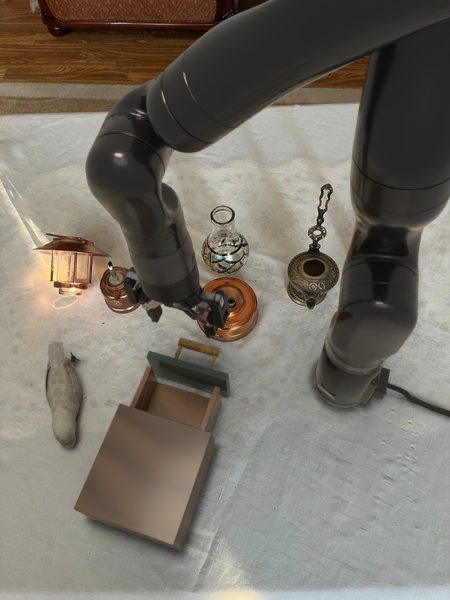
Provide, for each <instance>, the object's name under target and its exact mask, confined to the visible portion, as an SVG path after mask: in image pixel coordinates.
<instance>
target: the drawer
mask: <svg viewBox="0 0 450 600" xmlns="http://www.w3.org/2000/svg"><path fill="white" fill-rule="evenodd" d="M183 349H186V350H190V351H193V352H197V353H200V354H204V355H207V356H210V357H211V360H210V361H209V365H208V366H204V365H200V364H197V363H194V362H190V361H186V360H184V359H181V358H180V354H181V352H182V350H183ZM220 353H221V348H218V347H215V346H212V345H208V344H205V343H201V342H198V341H194V340H191V339H187V338H184V337H179V339H178V341H177V349H176V351H175V353H174V356H170V355H166V354H163V353H159V352H156V351H152V350H148V352H147V354H146V360H147V362H148V364H149V365H147V366H146V368H145V370H144V372H143V375H142V378H141V380H140V382H139V385H138V387H137V388H136V391H135V393H134V396H133V397H132V401H131V403H130V405H129V406H130V407H133V408H136V409H139V410H142V411H145V412H149V413H152V414H155V415H158V416H161V417H164V418H168V419H171V420H174V421H177V422H180V423H183V424H186V425H190V426H193V427H196V428H199V429H202V430H205V431H208V432H212V433H213V429H214V427H215V423H216V421H217V418H218V415H219V413H220V408H221V407H222V397H225V398H229V396H230V394H231V384H230V374H229V373H227V372H224V371H221V370H218V369H214V366H215V362H216V361H217V358H219V357H220ZM157 377H159V378H162V379H166V380H169V381H172V382H176V383H178V384H181V385H185V386H188V387H192V388H196V389H199V390H202V391H206V392H208V393H211V395H210V397H208V396H204V395H202V394H197V393H194V392H191V391H188V390H185V389H182V388H178V387H176V386H175V387H174V386H172V385H168V384H166V383H162V382H158V379H157Z"/></svg>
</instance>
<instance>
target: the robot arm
mask: <svg viewBox="0 0 450 600" xmlns="http://www.w3.org/2000/svg"><path fill="white" fill-rule="evenodd" d="M367 56H369V57H368V62H367V66H366V70H365V73H364V74H365V76H364V79H363V84H362V90H361V94H360V99H359V104H358V105H359V106H358V110H357V117H356V123H355V129H354V135H353V140H352V149H351V161H350V171H349V172H350V173H349V194H350V196H349V197H350V203H351V207H352V211H353V213H354V219H355V221H354V222H355V223H354V228H353V232H352V236H351V240H350V244H349V247H348V250H347V252H346V256H345V260H344V263H343V267H342V270H341V277H340V284H339V285H340V287H339V295H338V304H337V310H336V311H335V312H334V314H333V315H332V317H331V319H330V321H329V325H328V328H327V332H326V335H325V338H324V341H323V345H322V349H321V352H320V355H319V358H318V362H317V365H316V367H315V370H314V373H313V386H314V388H315V392H316V393H317V395H318V396H319V397H320V398H321V399H322V400H323V401H324V402H325V403H327V404H328V405H331V406H333V407H334V408H335V407H336V408H339V409H350V408H354V407H356V406H358V405H360V406H364V407H365V406H366V405H367V403H368V402H369V400H370V399H371V398H374V399H379V400H381V401H382V400H383V399H384V398H385V397H386V395H387V390H388V389H389V390H391V391H393V392H396V393H399V394H401V395H403V396H404V397H405V398H406V399H407V400H408V401H410V402H412V403H414V404H416V405H418V406H420V407H423V408H425V409H427V410H430V411H432V412H436V413H438V414H441V415H444V416H448V417H450V410H449V409H445V408H442V407H440V406H436V405H433V404H431V403H428V402H425V401H424V400H421V399H420V398H417V397H416V396H413V395H412V394H411V393H410V392H409V391H408V390H406V389H405V388H402V387H401V386H398V385H396V384H392V383H390V382H389V380H390V373H391V369H390V368H386V367H384V366H385V365H386V363H387V361H388V359H389V358H390V357H392V356H394V355H396V354H397V353H399V351H400V350H401V349H402V348H403V346H404V345H405V344H406V343H407V341H408V340H409V338H410V337H411V335H412V334H413V333H414V330H415V328H416V327H417V323H418V318H419V292H420V291H419V290H420V289H419V288H420V287H419V286H420V269H419V257H420V248H421V247H420V246H421V241H422V236H423V232H424V229H425V227H427V226H428V225H430V224H431V223H432V222H434V221H435V220H437V218H438V217H439V216H440V215H441V214H442V212H443V211H444V210H445V208H446V206H447V204H448V202H449V200H450V0H267V1H265V2H263V3H261V4H259V5H256V6H253V7H251V8H249V9H246V10H244V11H241V12H239V13H236V14H234V15H232V16H230V17H228V18H226V19H225V20H223V21H221V22H219V23H218V24H217V25H215V26H213V27H212V28H210V29H209V30H208V31H207V32H205V33H204V34H203V35H202V36H200V37H198V39H196V40H195V41H194V42H193V43H192V44H191V45H189V47H188V48H187V49H185V50H184V51H183V52H182V53H181V54H180V55H178V57H176V59H174V60H173V61H172V62H171V63H170V64H169V65H168V66H167V67H166V68H165V69H163V71H162V72H161V73H160V74H159V75H158V76H157V77H155V78H152V79H150V80H148V81H146V82H144V83H142V84H140V85H139V86H137V87H135V88H133V89H132V90H131V89H130V91H128V92H127V93H126V94H124V95H123V96H121V98H119V100H117V102H116V103H115V104H114V105H113V106H112V107H111V109H110V110H109V112H108V113H107V114H106V116H105V118H104V120H103V122H102V125H101V127H100V128H99V131H98V133H97V135H96V137H95V139H94V142H93V143H92V145H91V147H90V149H89V151H88V153H87V156H86V159H85V168H84V172H85V179H86V183H87V187H88V188H89V191H90V192H91V194H92V196H93V197H94V198H95V200H96V201H97V202H98V203H99V204H100V205H101V206H102V207H103V209H105V210H106V211H107V213H108V214H109V215H110V216H111V217H112V219H114V220H115V222H117V224H118V225H119V226H120V229H121V232H122V235H123V238H124V239H125V242H126V245H127V251H128V255H129V259H130V262H131V263H132V266H130V268H129V270H127V273H126V275H125V277H124V279H123V280H122V284H123V287H124V290H125V293H126V296H127V298H128V301H129V302H130V304H132V305H135V306H136V305H137V306H138V304H140V305H141V308H142V309H143V310H145V312H146V314H147V316H148V317H149V318H150V319H151V322H152V323H155V324H158V323H159V322H160V319H161V317H162V315H163V311H164V310H163V309H162V305H163V306H164V307H167V308H169V309H170V308H172V309H176V310H178V311H181V312H183V313H184V314H185V315H187V316H188V317H189V318H190V319H191V320H192V321H199V322H200V323H201V324H202V326H203V331H204V336H205V338H207V339H212V338H213V337H215V336H216V334H217V333H218V330H219V329H220V330H223V329H225V326H226V323H227V320H228V318H229V317H230V315H231V312H230V307H229V304H228V300H227V297H226V293H225V291H224V290H222V289H216V290H215V293H211V292H208V291H205V289H204V287H202V286H201V284H200V270H199V267H198V262H197V257H196V252H195V248H194V244H193V240H192V236H191V234H190V232H189V230H188V228H187V223H186V218H185V214H184V210H183V206H182V203H181V200H180V197H179V196H178V194H177V192H176V191H175V190H174V188H173V187H172V186H170V185H169V184H168V183H166V182H163V180H164V177H165V175H166V173H167V169H168V166H169V163H170V161H171V157H172V156H173V153H174V152H175V151H176V152H178V153H182V154H195V153H199V152H202V151H204V150H205V149H208V148H209V147H211V146H213V145H214V144H216V143H217V142H219V141H220V140H223V138H225V137H226V136H228V135H230V134H231V133H232V132H234V131H235V130H237V129H238V128H240V127H241V126H242V125H244V124H245V123H247V122H248V121H249V120H251V119H252V118H254V117H255V116H257V115H258V114H260V113H261V112H263V111H264V110H265V109H267V108H269V107H270V106H272V105H273V104H275V103H276V102H279V101H280V100H282V99H283V98H285V97H287V96H288V95H291V94H292V93H294V92H295V91H298V90H300V89H302V88H303V87H305V86H307V85H309V84H312V83H314V82H315V81H317V80H320V79H321V78H324V77H325V76H328V75H329V74H332V73H334V72H335V71H338V70H340V69H342V68H345V67H346V66H348V65H351V64H353V63H354V62H357V61H359V60H361V59H363V58H365V57H367ZM194 308H195V309H194ZM205 312H207V314H206V315H205Z"/></svg>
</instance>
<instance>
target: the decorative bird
mask: <svg viewBox="0 0 450 600" xmlns="http://www.w3.org/2000/svg"><path fill="white" fill-rule="evenodd" d="M47 347H48V348H47V349H48V351H47V358H48V361H47V366H46V371H45V378H44V392H45V393H44V395H45V397H46V401H47V404H48V406H49V409H50V410H51V418H52V419H51V428H52V433H53V436H54V438H55V440H56V441H57V442H58V443H59V444H60V445H61V446H63V447H66V448H73V447H74V446H75V445H76V442H77V435H78V434H77V433H78V431H77V430H78V429H77V422H76V419H77V417H78V411H79V408H80V405H81V402H82V387H81V382H80V379H79V376H78V375H79V374H78V373H77V371H76V369H75V366H74V365H75V364H77V361H78V362H80V361H82V360H81V359H78V358H77V356H75V354H74V353H73V352H72V351H70V359H69V358H68V357H65V348H64V343H63V342H61V341H57V340H51V343H49V344H48V346H47Z"/></svg>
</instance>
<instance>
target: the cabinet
mask: <svg viewBox="0 0 450 600" xmlns="http://www.w3.org/2000/svg"><path fill="white" fill-rule="evenodd" d="M215 445H216V444H215V441H214V436H213V431H212V432H208V431H205V430H202V429H199V428H196V427H193V426H190V425H186V424H183V423H180V422H177V421H174V420H171V419H168V418H164V417H161V416H158V415H155V414H152V413H149V412H145V411H142V410H139V409H136V408H133V407H130V405H127V404H123V403H119V404H118V406H117V409H116V411H115V414H114V415H113V418H112V420H111V422H110V424H109V427H108V428H107V431H106V434H105V436H104V439H103V441H102V443H101V445H100V447H99V449H98V452H97V454H96V456H95V459H94V460H93V463H92V466H91V468H90V469H89V472H88V475H87V477H86V479H85V481H84V484H83V486H82V488H81V491H80V493H79V494H78V495H79V496H78V498H77V500H76V502H75V505H74V506H73V510H74V511H76V512H77V513H79V514H82V515H83V516H86V517H87V518H89V519H91V520H94V521H97V522H99V523H102V524H105V525H108V526H110V527H113V528H116V529H119V530H121V531H124V532H127V533H129V534H131V535H135V536H137V537H140V538H142V539H145V540H148V541H151V542H154V543H156V544H159V545H161V546H165V547H167V548H170V549H172V550H175V551H179V552H182V551H183V549H184V545H185V542H186V540H187V535H188V533H189V530H190V527H191V524H192V521H193V518H194V515H195V512H196V509H197V507H198V503H199V501H200V497H201V494H202V492H203V488H204V485H205V481H206V479H207V476H208V473H209V470H210V467H211V464H212V461H213V458H214V455H215V452H216V446H215Z"/></svg>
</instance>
